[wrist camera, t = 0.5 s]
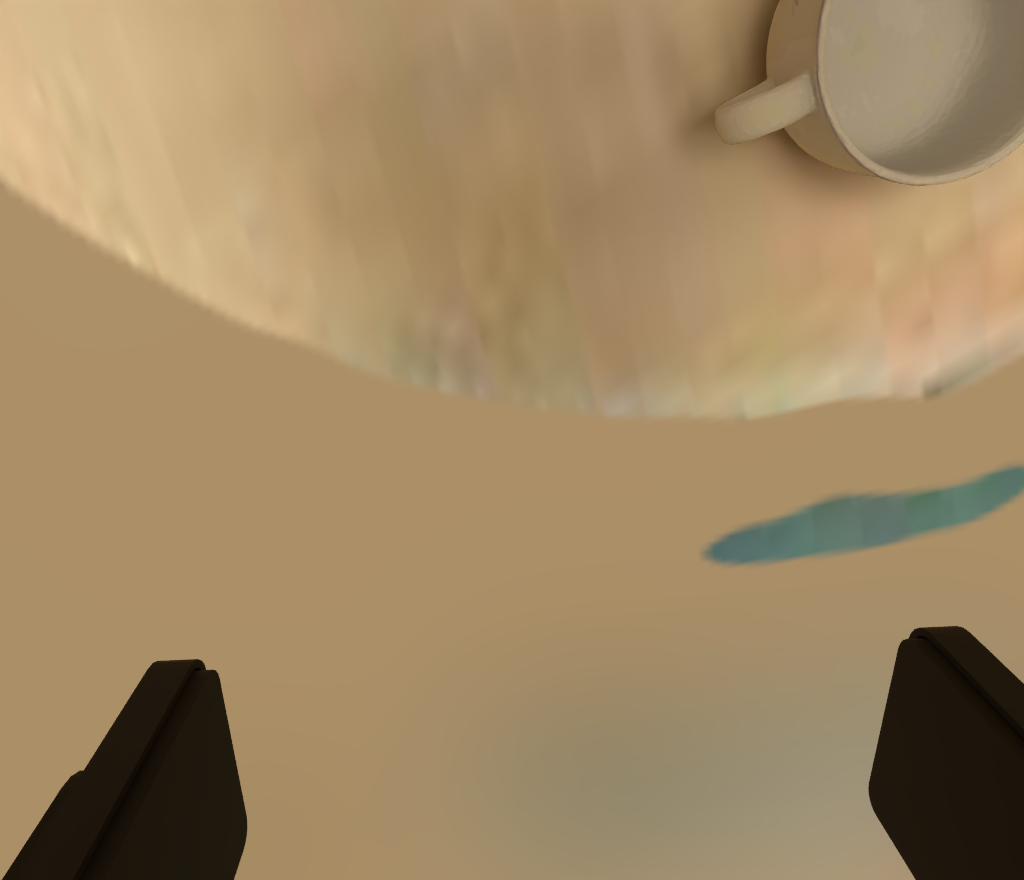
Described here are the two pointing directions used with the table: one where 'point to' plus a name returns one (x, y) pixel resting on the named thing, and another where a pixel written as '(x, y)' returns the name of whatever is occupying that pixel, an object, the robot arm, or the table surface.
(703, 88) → the table surface
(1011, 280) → the table surface
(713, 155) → the table surface
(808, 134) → the teacup
